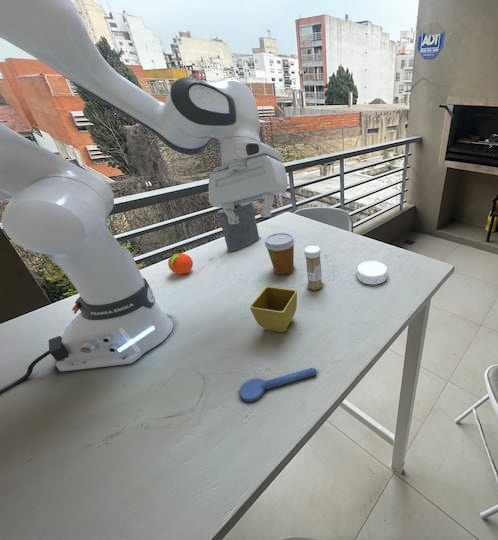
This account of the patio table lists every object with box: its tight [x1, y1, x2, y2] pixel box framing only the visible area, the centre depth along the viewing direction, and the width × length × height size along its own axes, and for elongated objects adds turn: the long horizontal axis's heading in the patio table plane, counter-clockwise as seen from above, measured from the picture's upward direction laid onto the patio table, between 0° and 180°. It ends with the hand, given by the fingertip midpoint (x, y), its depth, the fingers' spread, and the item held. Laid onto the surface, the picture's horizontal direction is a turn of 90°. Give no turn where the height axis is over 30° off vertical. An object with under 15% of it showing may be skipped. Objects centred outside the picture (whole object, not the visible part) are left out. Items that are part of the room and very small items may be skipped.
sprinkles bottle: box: [304, 245, 323, 291], centre depth 86 cm, size 5×5×14 cm
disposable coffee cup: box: [264, 232, 295, 276], centre depth 94 cm, size 10×10×12 cm
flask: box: [217, 201, 260, 253], centre depth 108 cm, size 4×14×18 cm, turn 148°
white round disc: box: [356, 260, 388, 286], centre depth 94 cm, size 10×10×4 cm
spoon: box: [239, 367, 317, 403], centre depth 60 cm, size 16×5×2 cm, turn 111°
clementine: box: [167, 252, 194, 275], centre depth 93 cm, size 8×7×7 cm
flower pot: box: [249, 286, 298, 333], centre depth 72 cm, size 9×9×9 cm
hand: (249, 220), depth 63 cm, fingers open, 8 cm apart
